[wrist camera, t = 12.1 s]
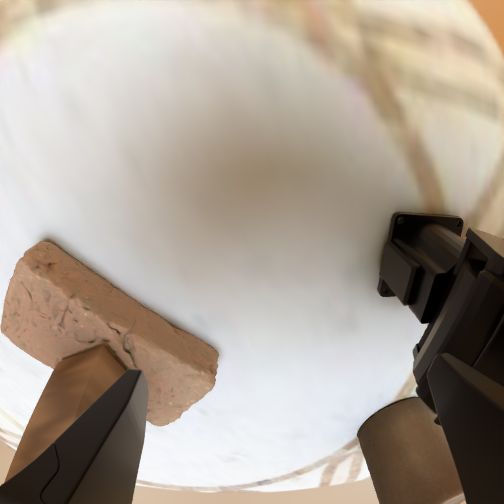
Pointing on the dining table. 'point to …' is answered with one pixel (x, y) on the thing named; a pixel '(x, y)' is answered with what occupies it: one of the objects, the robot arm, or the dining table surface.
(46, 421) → the walnut block
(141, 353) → the brick
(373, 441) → the pillar candle
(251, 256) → the dining table surface
